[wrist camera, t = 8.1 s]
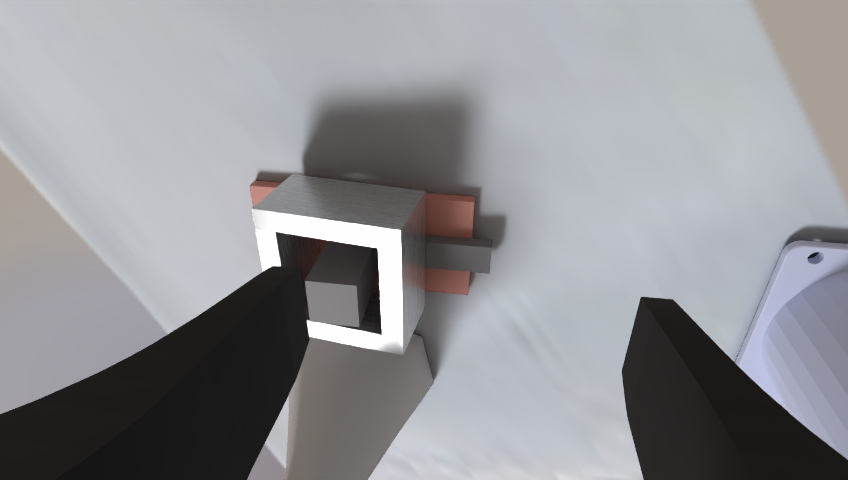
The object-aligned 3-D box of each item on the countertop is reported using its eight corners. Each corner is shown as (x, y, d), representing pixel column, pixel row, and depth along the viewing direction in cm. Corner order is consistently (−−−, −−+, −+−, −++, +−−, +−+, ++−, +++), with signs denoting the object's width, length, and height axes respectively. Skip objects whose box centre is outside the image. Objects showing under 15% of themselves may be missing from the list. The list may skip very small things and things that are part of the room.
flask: (292, 400, 29) (200, 603, 20) (290, 293, 25) (176, 489, 16) (425, 426, 28) (388, 645, 20) (444, 322, 24) (408, 538, 16)
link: (425, 191, 20) (400, 230, 17) (424, 307, 23) (403, 355, 20) (292, 173, 21) (251, 208, 18) (307, 286, 24) (273, 328, 21)
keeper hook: (495, 197, 21) (491, 264, 17) (487, 289, 23) (481, 367, 19) (254, 180, 22) (196, 239, 18) (269, 269, 24) (221, 339, 20)
